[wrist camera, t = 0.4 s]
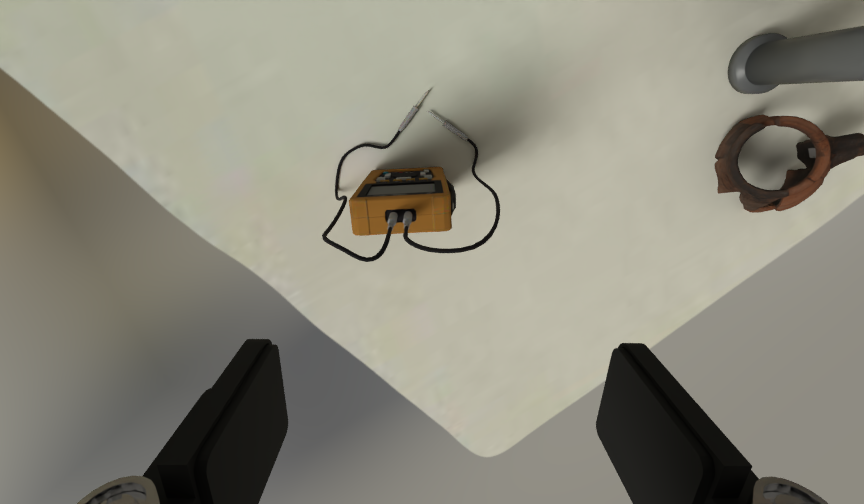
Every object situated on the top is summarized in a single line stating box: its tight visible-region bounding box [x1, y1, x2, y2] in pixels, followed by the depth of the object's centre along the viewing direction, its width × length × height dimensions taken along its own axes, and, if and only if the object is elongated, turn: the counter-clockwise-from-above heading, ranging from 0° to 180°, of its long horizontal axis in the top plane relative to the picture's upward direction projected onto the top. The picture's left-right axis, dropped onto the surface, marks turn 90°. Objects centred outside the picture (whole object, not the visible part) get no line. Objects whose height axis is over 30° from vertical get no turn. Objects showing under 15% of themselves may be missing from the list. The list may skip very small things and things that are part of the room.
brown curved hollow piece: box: [715, 115, 864, 212], centre depth 38 cm, size 12×10×8 cm
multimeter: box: [322, 90, 500, 262], centre depth 30 cm, size 15×10×20 cm
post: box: [728, 26, 864, 94], centre depth 29 cm, size 5×5×18 cm
